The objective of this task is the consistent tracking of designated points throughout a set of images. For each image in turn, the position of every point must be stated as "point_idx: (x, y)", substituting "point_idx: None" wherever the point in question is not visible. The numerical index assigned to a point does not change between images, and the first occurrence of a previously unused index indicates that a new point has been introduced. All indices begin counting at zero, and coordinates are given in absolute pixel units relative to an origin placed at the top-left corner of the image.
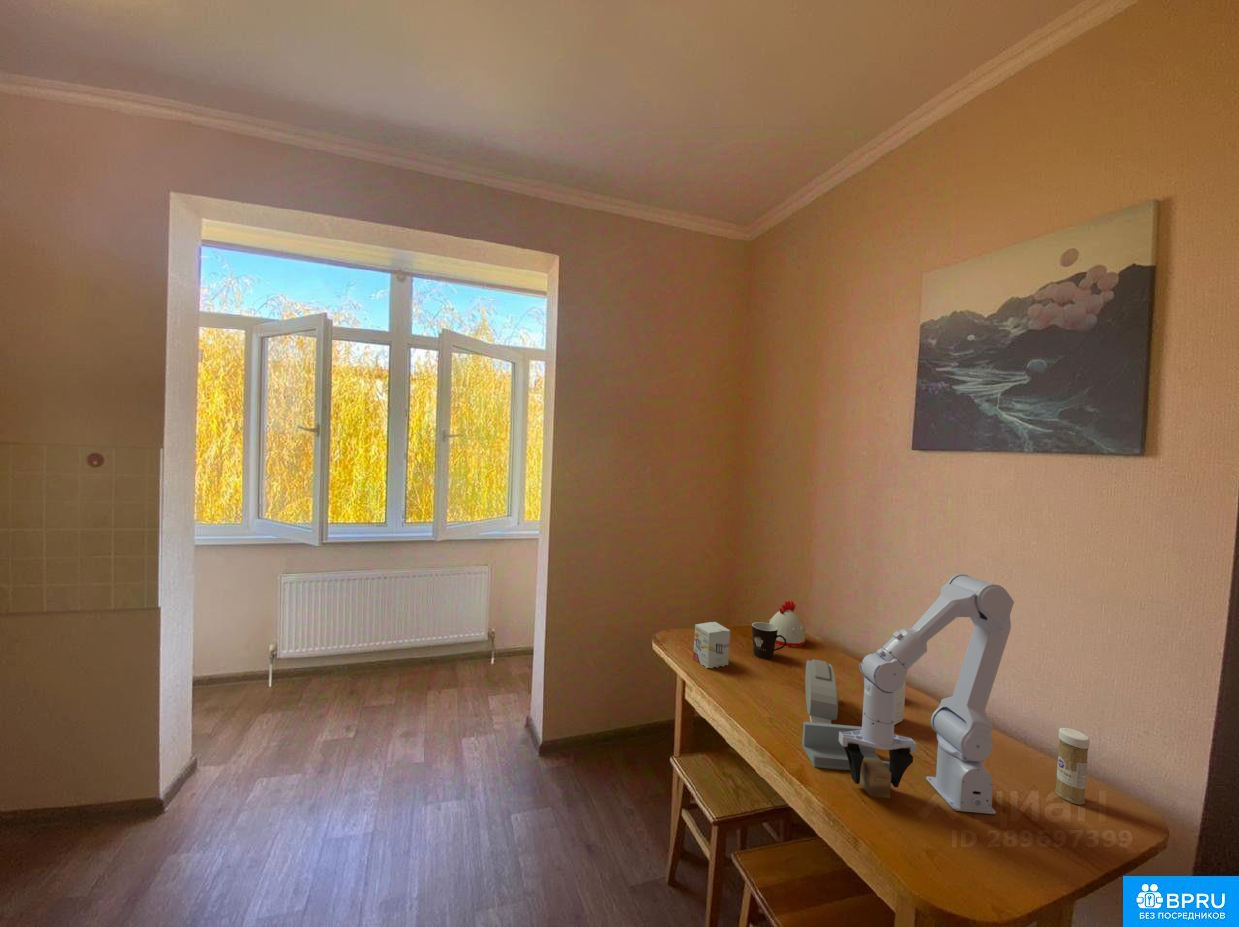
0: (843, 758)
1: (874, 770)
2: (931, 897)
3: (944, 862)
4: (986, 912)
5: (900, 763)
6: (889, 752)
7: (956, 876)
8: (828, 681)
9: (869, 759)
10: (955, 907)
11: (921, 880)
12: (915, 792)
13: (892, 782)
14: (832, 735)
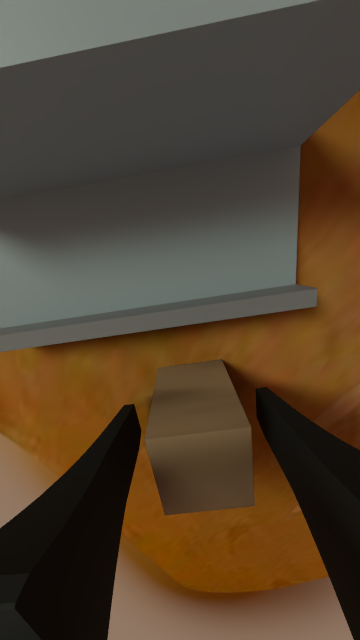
0: (101, 329)
1: (184, 505)
2: (193, 586)
3: (251, 541)
4: (260, 588)
5: (330, 577)
6: (334, 481)
7: (254, 557)
8: None
9: (189, 441)
10: (220, 590)
11: (192, 570)
12: (323, 373)
13: (258, 410)
14: (22, 145)
